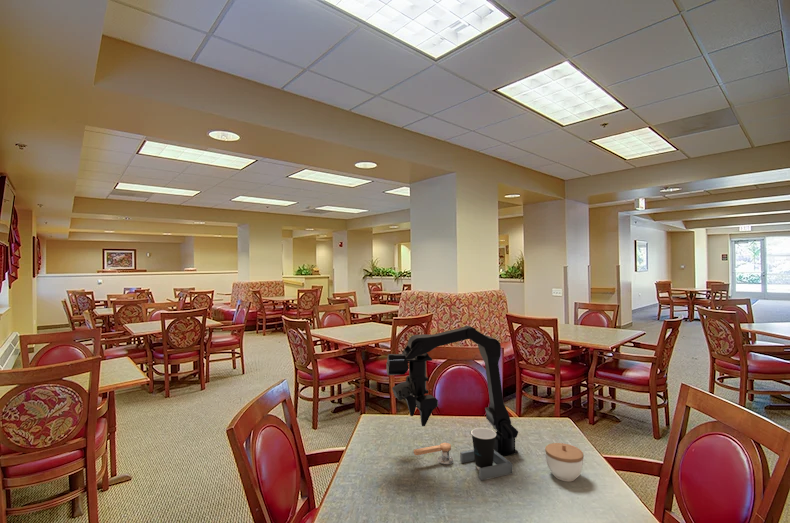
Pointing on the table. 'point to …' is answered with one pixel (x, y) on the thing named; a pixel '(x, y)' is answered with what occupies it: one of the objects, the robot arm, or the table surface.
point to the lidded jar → (564, 461)
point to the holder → (491, 471)
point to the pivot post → (445, 458)
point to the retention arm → (433, 449)
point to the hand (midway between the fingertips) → (417, 420)
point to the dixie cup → (483, 446)
